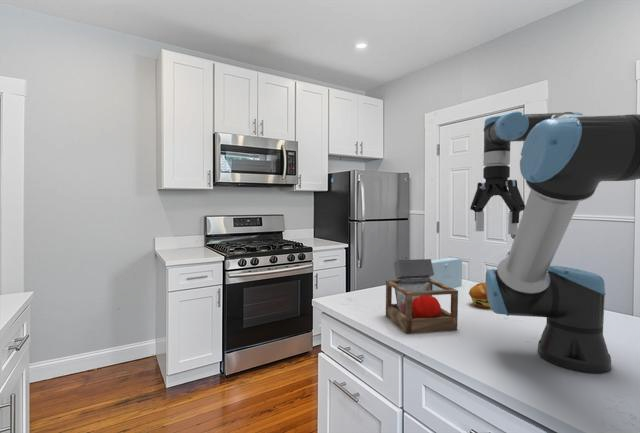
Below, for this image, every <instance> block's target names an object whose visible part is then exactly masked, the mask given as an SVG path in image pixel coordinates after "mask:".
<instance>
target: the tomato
mask: <svg viewBox="0 0 640 433" xmlns="http://www.w3.org/2000/svg"><path fill="white" fill-rule="evenodd" d="M441 308H442V307H441V304H440V301H439V300H438V299H437V298H436V297H435V296H434V295H432V297H431V296H430V295H426V296H421V297H416V298H415V299H414V300H413V302H412V311H413V315H414V316H415V318H430V317H439V316H440V314H441Z"/></svg>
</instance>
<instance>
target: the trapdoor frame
mask: <svg viewBox="0 0 640 433" xmlns="http://www.w3.org/2000/svg"><path fill="white" fill-rule="evenodd" d="M398 280H399V279H393V280H391V279H390V280H388V279H387V280H386V281H385V317H387V318H388V319H389V320H390V321H392V322H393V324H395V325H396V326H397V327H398V328H399V329H401V331H403V332H404V333H406V334H410V335H411V334H422V333H423V334H424V333H433V332H434V333H435V332H436V333H437V332H446V331H448V332H449V331H458V322H459V321H458V316H459V315H458V314H459V312H458V311H459V310H458V309H459V308H458V306H459V290H458V289H455V288H451V287H449V286H446V285H444V284H442V283H439V282H437V281H435V280H432V279H430V280H431V281H429V282H430V287H431V291H414V292H410V291H408V290H406V289H404V288H403V287H401V286H399V285H397V284H398ZM423 283H426V282H423ZM401 284H404V283H401ZM432 284H433V285H435V286H437V287H440V288H442V289H444V290H434V291H432ZM392 289H394V290H395V289H396V290H398V291H399V292H401V293H403V294H404V295H405V315H404V314H402V313H401V312H400V311H398V307H397V303H392V301H393V299H392V298H393V297H392V293H393V292H392V291H393V290H392ZM426 295H432V296H442V295H443V296H444V295H450V312H449V311H447V310H445V309H444V308H442V307H441V314H440V316H439V317H430V318H415V319H412V296H426Z"/></svg>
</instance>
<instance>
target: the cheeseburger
mask: <svg viewBox="0 0 640 433" xmlns="http://www.w3.org/2000/svg"><path fill="white" fill-rule="evenodd" d="M468 294H469V297H470V298H471V301H472V304H473V305H474V306H475V307H478V308H480V309H481V308H482V309H488V310H491V308H490V305H489V302H488V298H487V292H486V282H480V283H477V284H475V285H473V286H472V287H470V289H469V292H468Z"/></svg>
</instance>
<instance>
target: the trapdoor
mask: <svg viewBox="0 0 640 433" xmlns="http://www.w3.org/2000/svg"><path fill="white" fill-rule="evenodd" d="M431 260H432V259H431V258H426V259H425V258H423V259H422V258H421V259H398V260H396V261H394V263H393V265H394V272H395V278H396V279H395V280H398V284H397V285H399V286H401V287H403V288H404V289H406V290H408V291H410V292H414V291H431V287H430V282H429V281H431V280H430V278H429V277H431V276H433V275H434V272H433V267H432V262H431ZM423 282H426V283H423ZM401 283H404V284H401ZM394 294H395V299H396V300H395V301H396V304H397V307H398V311H400V312H401V313H402V314H404V315H405V295H404V294H403V293H401V292H399V291H398V290H396V289H395V288H394ZM430 296H431V297H432V296H433V295H430ZM416 297H421V296H412V302H413V300H414V299H415V298H416ZM412 319H415V316H414V315H413V311H412Z"/></svg>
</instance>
